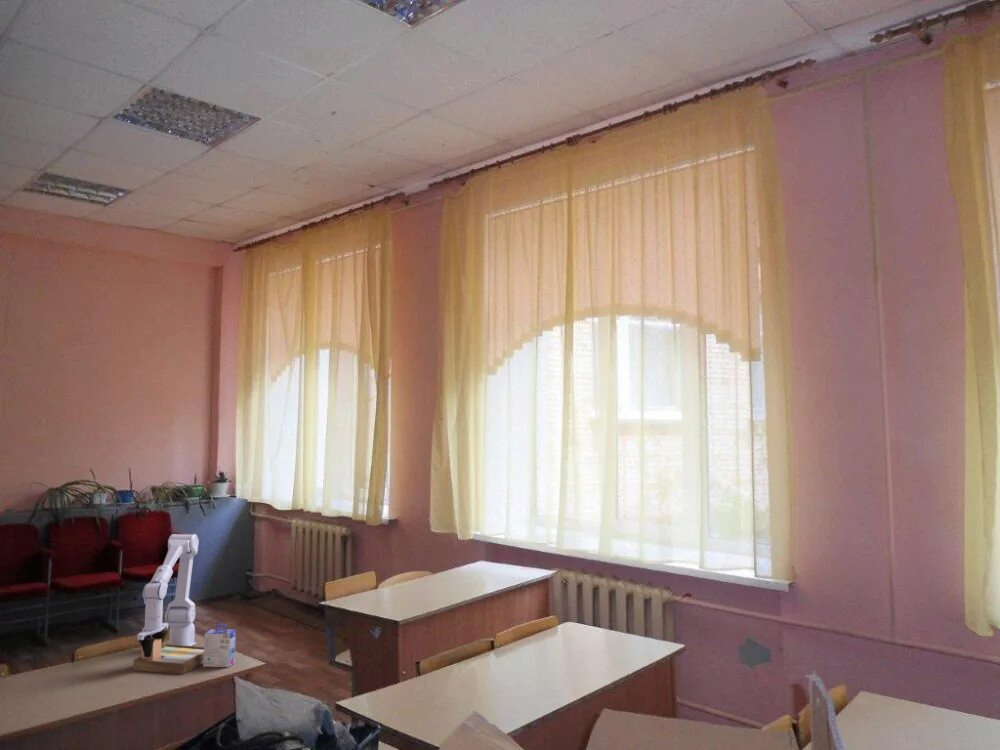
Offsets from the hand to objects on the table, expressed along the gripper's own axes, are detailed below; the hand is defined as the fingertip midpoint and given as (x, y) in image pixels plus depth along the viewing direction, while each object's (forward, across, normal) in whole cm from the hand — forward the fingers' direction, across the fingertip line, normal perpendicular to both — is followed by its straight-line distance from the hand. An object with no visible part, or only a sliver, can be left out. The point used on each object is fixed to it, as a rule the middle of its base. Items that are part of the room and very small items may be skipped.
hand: (152, 654), depth 255 cm
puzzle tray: (+4, -5, +6) cm, 9 cm away
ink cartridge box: (+5, -7, +23) cm, 24 cm away
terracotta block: (+2, 0, 0) cm, 2 cm away
